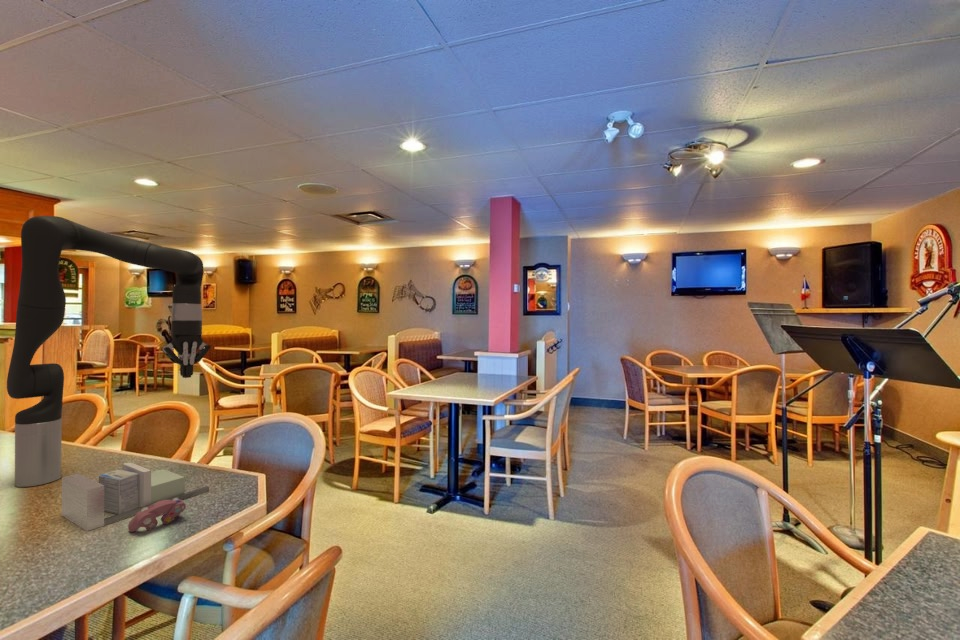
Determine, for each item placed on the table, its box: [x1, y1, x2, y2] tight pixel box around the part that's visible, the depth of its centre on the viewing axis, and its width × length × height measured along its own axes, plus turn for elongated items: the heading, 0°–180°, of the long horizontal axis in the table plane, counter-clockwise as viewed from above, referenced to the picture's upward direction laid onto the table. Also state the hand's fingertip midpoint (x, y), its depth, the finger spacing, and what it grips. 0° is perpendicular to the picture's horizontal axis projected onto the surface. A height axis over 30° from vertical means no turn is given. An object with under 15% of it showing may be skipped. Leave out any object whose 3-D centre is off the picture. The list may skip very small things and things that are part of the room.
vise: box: [61, 472, 210, 532], centre depth 108 cm, size 15×26×9 cm, turn 150°
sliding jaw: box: [122, 461, 186, 507], centre depth 111 cm, size 12×9×9 cm
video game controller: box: [127, 498, 187, 533], centre depth 96 cm, size 10×5×7 cm, turn 150°
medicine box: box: [98, 469, 139, 515], centre depth 104 cm, size 8×4×9 cm, turn 70°
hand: (186, 377), depth 127 cm, fingers closed
